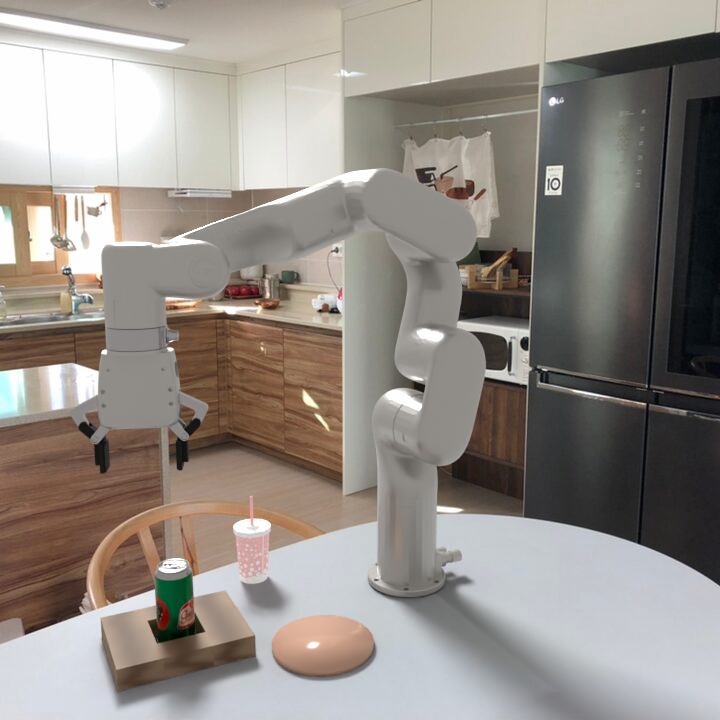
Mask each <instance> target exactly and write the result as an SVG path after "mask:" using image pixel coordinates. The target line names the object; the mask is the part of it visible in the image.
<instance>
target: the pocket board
mask: <svg viewBox="0 0 720 720" xmlns="http://www.w3.org/2000/svg"><path fill="white" fill-rule="evenodd" d="M194 614H195V635H191V636H187V637H183V638H179V639H175V640H170V641H166V642H162V643H158V641H156V639H155V638H157V639H158V636H157V618H156V605H153V606H147V607H144V608H138V609H134V610H131V611H130V610H129V611H126V612H120V613H115V614H112V615H107V616H103V617H100V629H101V630H100V631H101V638H102V639H101V640H102V642H103V646H104V648H105V653H106V656H107V657H106V658H107V660H108V663H109V665H110V666H109V667H110V669H111V673H112V677H113V681H114V683H115V687H116V690H117V692H122V691H126V690H129V689H135V688H137V687H141V686H145V685H149V684H152V683H153V684H154V683H157V682H160V681H164V680H168V679H171V678H175V677H176V678H177V677H179V676H183V675H187V674H192V673H195V672H198V671H201V670H202V671H203V670H207V669H210V668H213V667H217V666H221V665H225V664H228V663H233V662H236V661H241V660H244V659H249V658H251V657H255V656H257V652H256V651H257V648H256V634H255V633H254V631H253V630H252V628H251V626H250V625H249V624H248V622H247V621H246V619H245V618H244V616H243V615H242V613H241V612H240V610H239V609H238V607H237V606H236V604H235V602H234V601H233V599H232V598H231V597H230V595H229V594H228V592H227V590H224V589H223V590H221V591H216V592H211V593H206V594H203V595H198V596H194Z"/></svg>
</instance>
